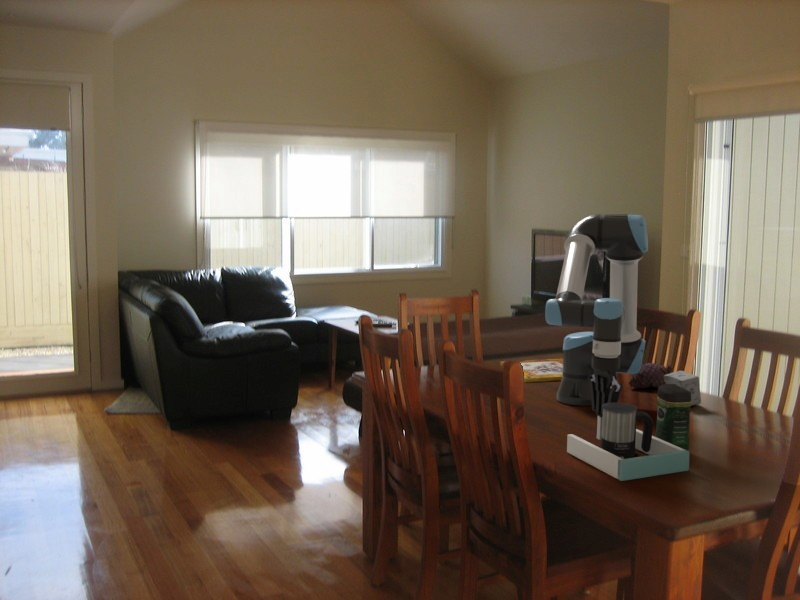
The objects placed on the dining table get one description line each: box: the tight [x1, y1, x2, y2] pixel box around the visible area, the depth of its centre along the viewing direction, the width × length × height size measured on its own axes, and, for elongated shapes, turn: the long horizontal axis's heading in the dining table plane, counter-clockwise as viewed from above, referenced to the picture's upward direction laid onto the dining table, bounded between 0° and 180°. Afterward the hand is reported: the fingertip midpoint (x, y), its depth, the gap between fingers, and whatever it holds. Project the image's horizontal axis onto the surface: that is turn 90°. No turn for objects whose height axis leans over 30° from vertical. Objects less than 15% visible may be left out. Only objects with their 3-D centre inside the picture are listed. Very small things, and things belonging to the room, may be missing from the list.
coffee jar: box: [655, 383, 691, 452], centre depth 233 cm, size 10×8×19 cm
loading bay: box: [566, 428, 690, 482], centre depth 226 cm, size 24×21×5 cm
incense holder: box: [664, 370, 702, 406], centre depth 283 cm, size 10×8×10 cm
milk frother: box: [600, 401, 654, 459], centre depth 229 cm, size 14×16×15 cm
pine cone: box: [628, 362, 674, 390], centre depth 306 cm, size 18×10×10 cm
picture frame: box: [499, 358, 563, 383], centre depth 332 cm, size 27×2×30 cm
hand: (602, 438), depth 235 cm, fingers closed
